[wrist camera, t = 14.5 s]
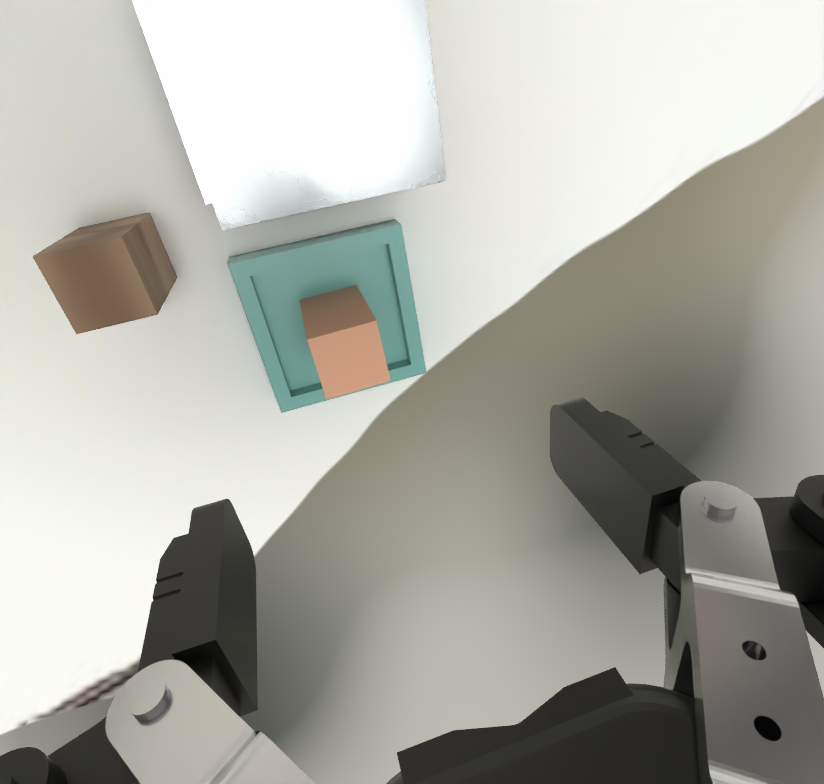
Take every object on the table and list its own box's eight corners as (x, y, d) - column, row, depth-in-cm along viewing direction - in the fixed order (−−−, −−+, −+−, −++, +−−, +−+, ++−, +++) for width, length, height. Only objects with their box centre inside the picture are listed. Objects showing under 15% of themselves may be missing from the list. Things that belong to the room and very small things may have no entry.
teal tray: (280, 400, 38) (281, 412, 36) (229, 257, 32) (227, 264, 30) (419, 362, 39) (426, 372, 38) (394, 219, 33) (401, 224, 32)
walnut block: (111, 292, 31) (76, 334, 25) (79, 227, 29) (32, 256, 23) (177, 277, 32) (157, 314, 26) (149, 212, 30) (121, 236, 24)
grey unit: (227, 196, 30) (212, 232, 21) (157, -12, 25) (96, -86, 16) (401, 159, 32) (458, 178, 22) (369, -44, 27) (426, -129, 17)
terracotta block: (315, 352, 36) (326, 399, 30) (299, 299, 34) (307, 339, 28) (369, 337, 36) (390, 380, 30) (356, 284, 34) (376, 320, 28)
